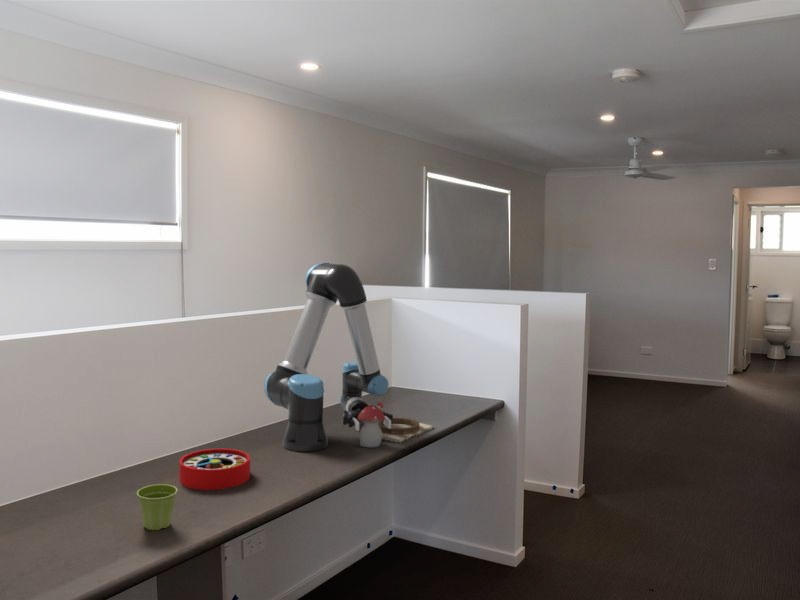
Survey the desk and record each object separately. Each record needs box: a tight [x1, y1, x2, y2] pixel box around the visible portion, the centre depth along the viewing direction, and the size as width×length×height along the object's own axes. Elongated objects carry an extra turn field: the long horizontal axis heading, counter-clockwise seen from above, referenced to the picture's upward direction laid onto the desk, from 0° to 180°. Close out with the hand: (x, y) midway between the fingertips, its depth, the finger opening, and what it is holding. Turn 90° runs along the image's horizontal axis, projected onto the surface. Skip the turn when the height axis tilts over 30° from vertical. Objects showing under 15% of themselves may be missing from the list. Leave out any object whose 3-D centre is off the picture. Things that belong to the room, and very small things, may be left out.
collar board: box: [379, 417, 434, 443], centre depth 259 cm, size 24×17×3 cm
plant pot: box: [136, 483, 178, 531], centre depth 170 cm, size 9×9×9 cm
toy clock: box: [178, 448, 251, 491], centre depth 205 cm, size 20×6×20 cm
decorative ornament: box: [358, 401, 385, 448], centre depth 240 cm, size 9×7×15 cm
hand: (374, 425), depth 236 cm, fingers open, 10 cm apart
